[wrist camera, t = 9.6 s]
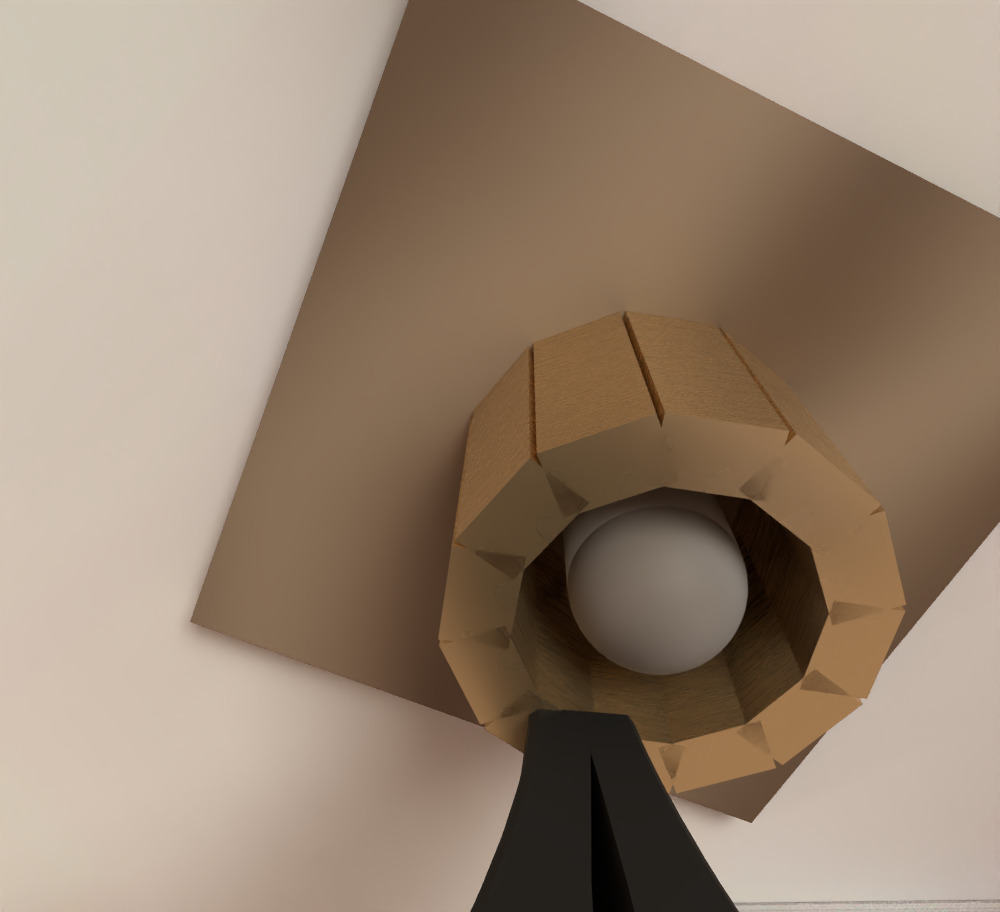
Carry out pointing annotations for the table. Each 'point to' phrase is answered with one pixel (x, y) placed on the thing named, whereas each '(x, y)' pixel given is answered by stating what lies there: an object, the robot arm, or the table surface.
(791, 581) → the wooden ring
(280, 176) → the table surface
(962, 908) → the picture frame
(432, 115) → the hub plate
